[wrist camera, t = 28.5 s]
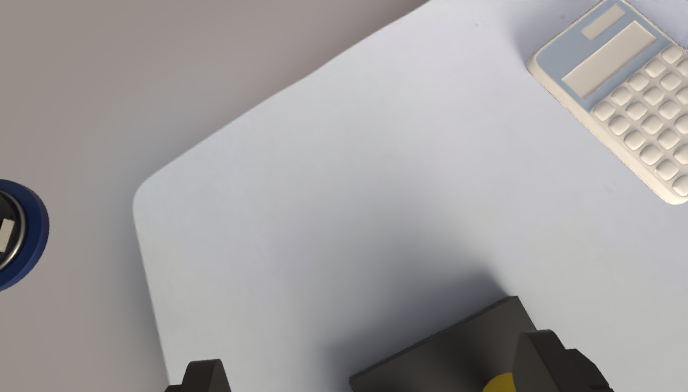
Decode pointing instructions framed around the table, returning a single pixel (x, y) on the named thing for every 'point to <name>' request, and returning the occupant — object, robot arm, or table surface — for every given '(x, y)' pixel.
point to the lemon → (501, 384)
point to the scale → (453, 355)
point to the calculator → (624, 90)
